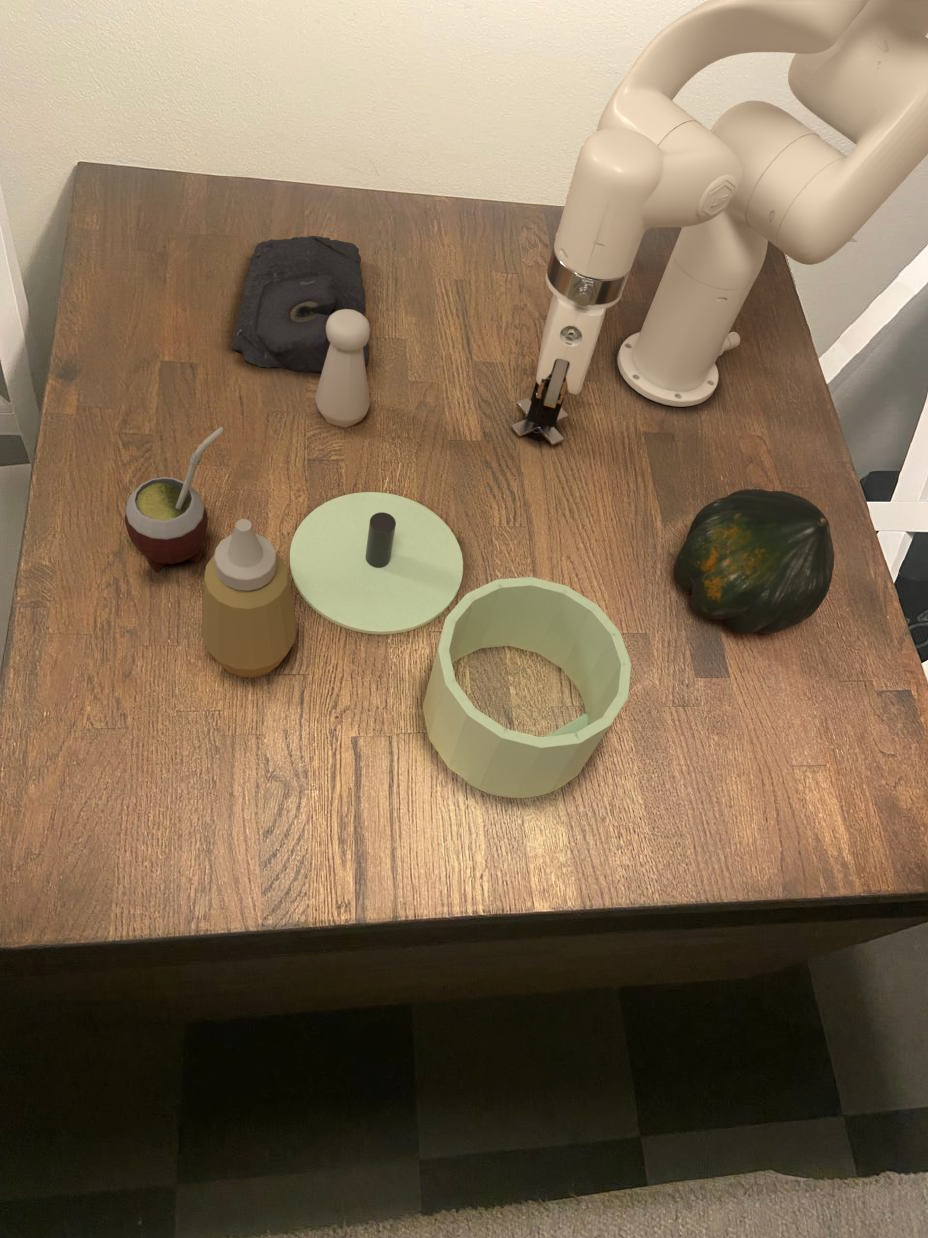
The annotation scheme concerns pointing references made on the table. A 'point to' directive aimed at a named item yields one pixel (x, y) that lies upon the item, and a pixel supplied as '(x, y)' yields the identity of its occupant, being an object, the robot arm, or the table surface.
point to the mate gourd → (169, 517)
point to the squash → (757, 560)
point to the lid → (376, 563)
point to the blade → (537, 425)
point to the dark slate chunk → (296, 301)
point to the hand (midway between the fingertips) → (542, 412)
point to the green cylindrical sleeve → (559, 634)
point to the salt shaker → (344, 370)
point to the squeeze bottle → (247, 604)
